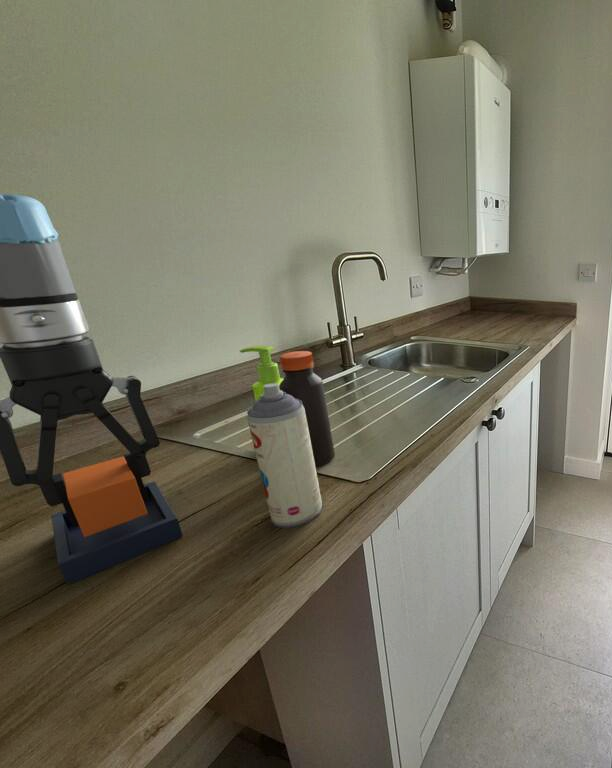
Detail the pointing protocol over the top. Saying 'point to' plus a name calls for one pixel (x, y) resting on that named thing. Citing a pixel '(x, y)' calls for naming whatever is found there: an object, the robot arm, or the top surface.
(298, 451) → the aerosol can
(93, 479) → the block
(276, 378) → the soap dispenser
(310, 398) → the bottle
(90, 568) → the dark blue rectangular tray
